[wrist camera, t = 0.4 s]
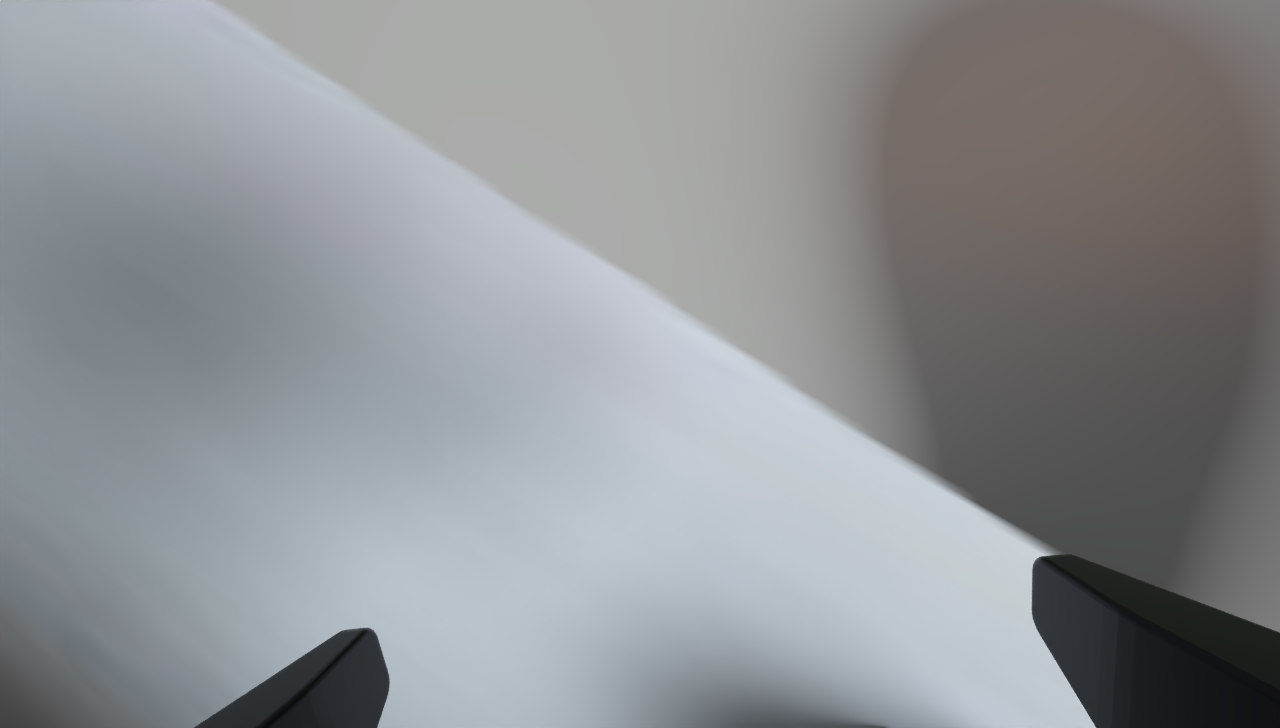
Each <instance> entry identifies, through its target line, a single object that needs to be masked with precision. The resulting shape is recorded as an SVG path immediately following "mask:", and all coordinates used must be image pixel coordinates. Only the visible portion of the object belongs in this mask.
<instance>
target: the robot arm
mask: <svg viewBox="0 0 1280 728" xmlns="http://www.w3.org/2000/svg"><path fill="white" fill-rule="evenodd" d="M1032 616H1033V620H1034V623H1035V626H1036V628H1037V630H1038V632H1039V634H1040V636H1041V637H1042V639H1043V641H1044V642H1045V644H1046V645H1047V647H1048V649H1049V650H1050V652H1051V654H1052V655H1053V657H1054V659H1055V660H1056V662H1057V664H1058V665H1059V667H1060V669H1061V670H1062V672H1063V674H1064V675H1065V677H1066V678H1067V680H1068V682H1069V683H1070V685H1071V687H1072V688H1073V690H1074V692H1075V693H1076V695H1077V697H1078V698H1079V700H1080V702H1081V703H1082V705H1083V707H1084V708H1085V710H1086V711H1087V713H1088V715H1089V716H1090V718H1091V720H1092V721H1093V723H1094V725H1095V726H1096V728H1280V633H1279V632H1277V631H1274V630H1271V629H1269V628H1265V627H1263V626H1261V625H1258V624H1255V623H1253V622H1250V621H1247V620H1245V619H1242V618H1239V617H1237V616H1234V615H1232V614H1229V613H1226V612H1224V611H1221V610H1218V609H1216V608H1213V607H1210V606H1208V605H1205V604H1202V603H1200V602H1197V601H1194V600H1192V599H1189V598H1186V597H1184V596H1181V595H1178V594H1176V593H1173V592H1170V591H1168V590H1165V589H1162V588H1160V587H1157V586H1155V585H1152V584H1149V583H1147V582H1144V581H1141V580H1139V579H1136V578H1133V577H1131V576H1128V575H1125V574H1122V573H1120V572H1117V571H1115V570H1112V569H1109V568H1107V567H1104V566H1102V565H1099V564H1096V563H1094V562H1091V561H1088V560H1086V559H1083V558H1080V557H1078V556H1075V555H1072V554H1061V555H1051V556H1042V557H1039V558H1037V559H1036V560H1035V562H1034V564H1033V570H1032ZM389 682H390V681H389V674H388V670H387V667H386V663H385V660H384V657H383V654H382V650H381V647H380V644H379V640H378V637H377V635H376V633H375V632H374V630H372V629H370V628H359V629H349V630H344V631H341V632H339V633H337V634H336V635H334V636H333V637H331V638H330V639H328V640H327V641H325V642H324V643H322V644H320V645H319V646H317V647H316V648H314V649H313V650H311V651H310V652H308V653H307V654H305V655H304V656H302V657H301V658H299V659H298V660H296V661H295V662H293V663H292V664H290V665H289V666H287V667H285V668H284V669H282V670H281V671H279V672H278V673H276V674H275V675H273V676H272V677H270V678H269V679H267V680H266V681H264V682H263V683H261V684H260V685H258V686H257V687H255V688H254V689H252V690H251V691H249V692H247V693H246V694H244V695H243V696H241V697H240V698H238V699H237V700H235V701H234V702H232V703H231V704H229V705H228V706H226V707H225V708H223V709H222V710H220V711H219V712H217V713H216V714H214V715H212V716H211V717H209V718H208V719H206V720H205V721H203V722H202V723H200V724H199V725H197V726H196V727H194V728H377V726H378V723H379V720H380V717H381V714H382V711H383V708H384V705H385V702H386V699H387V696H388V692H389Z"/></svg>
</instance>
